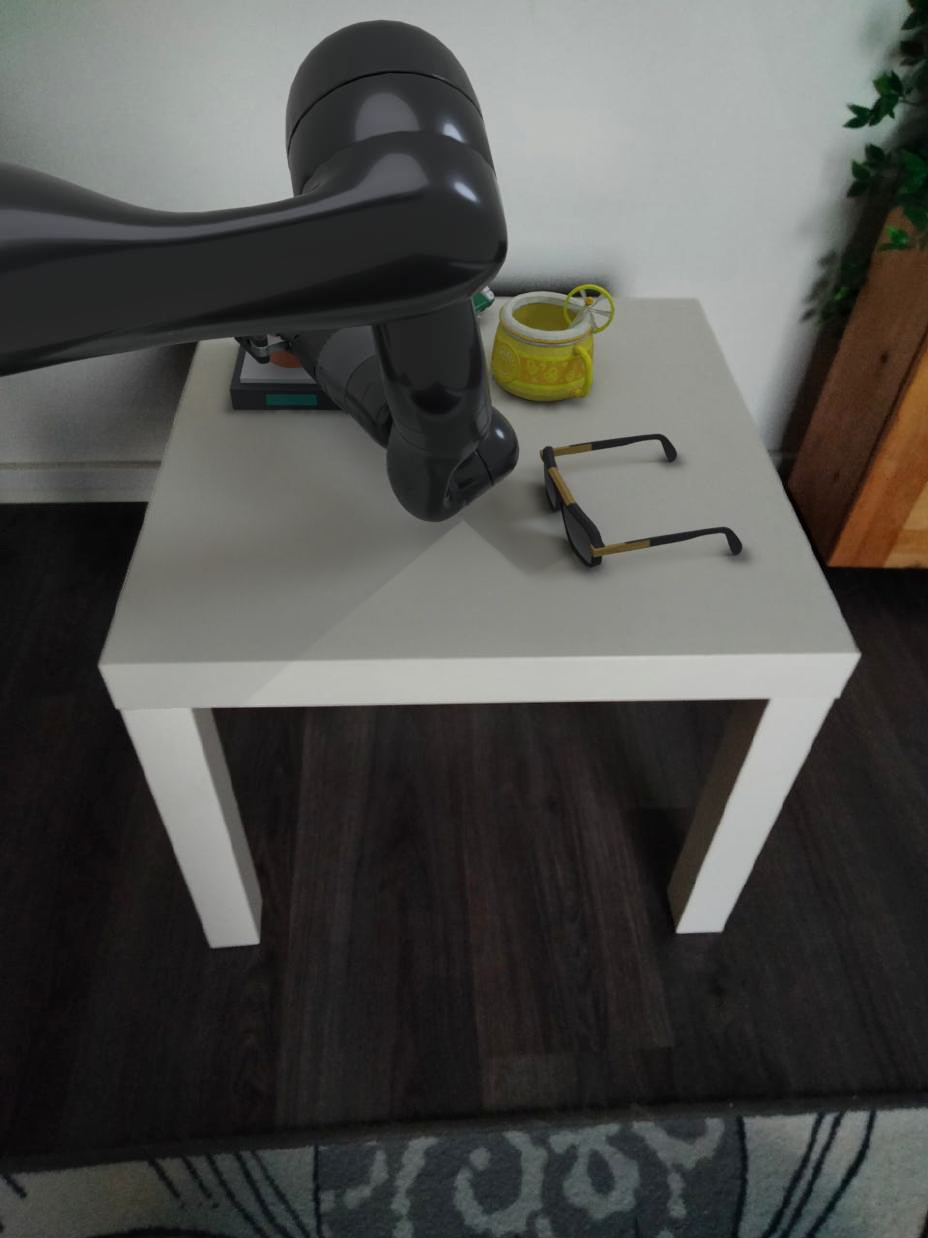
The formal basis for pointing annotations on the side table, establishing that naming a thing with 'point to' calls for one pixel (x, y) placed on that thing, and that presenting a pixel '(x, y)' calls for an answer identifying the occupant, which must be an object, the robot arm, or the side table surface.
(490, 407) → the robot arm
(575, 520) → the sunglasses
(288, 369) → the scale
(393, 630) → the side table surface
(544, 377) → the mug
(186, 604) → the side table surface
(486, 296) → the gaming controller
